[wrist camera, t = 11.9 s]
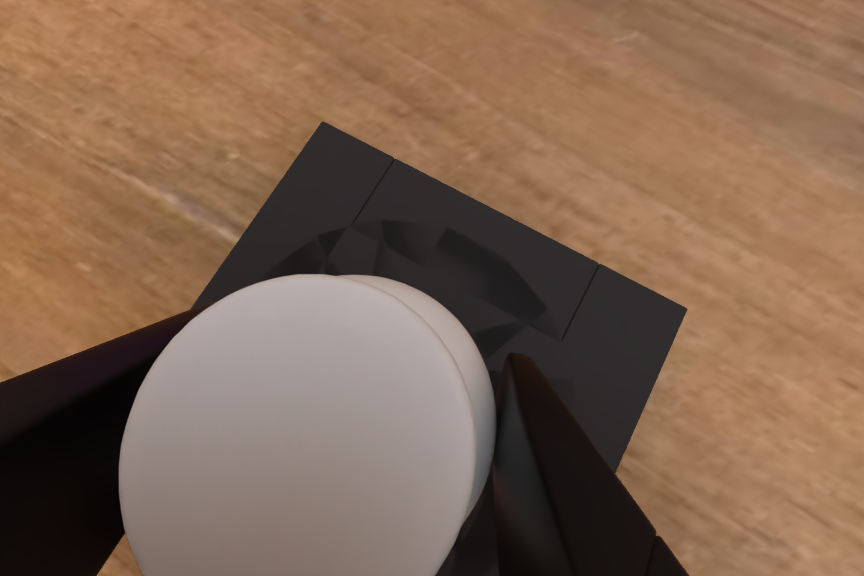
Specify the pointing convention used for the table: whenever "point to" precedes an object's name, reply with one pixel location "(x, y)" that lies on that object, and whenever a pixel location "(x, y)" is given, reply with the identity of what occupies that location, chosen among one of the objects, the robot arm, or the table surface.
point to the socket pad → (465, 291)
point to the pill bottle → (308, 435)
